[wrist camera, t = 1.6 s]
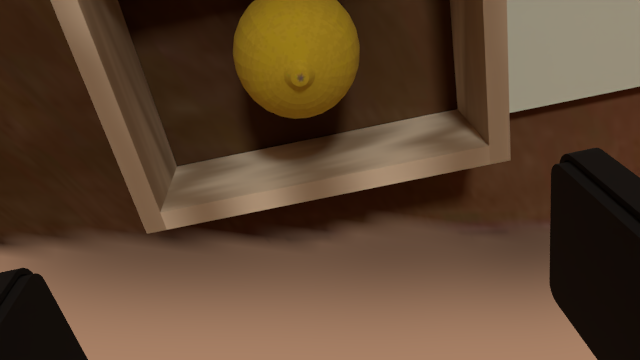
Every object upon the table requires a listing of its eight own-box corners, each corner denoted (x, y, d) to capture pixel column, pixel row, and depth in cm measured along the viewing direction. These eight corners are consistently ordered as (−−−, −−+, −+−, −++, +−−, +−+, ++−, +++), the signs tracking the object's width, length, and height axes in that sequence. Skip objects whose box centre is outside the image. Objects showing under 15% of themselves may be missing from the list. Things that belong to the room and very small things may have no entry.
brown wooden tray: (460, -169, 24) (502, -183, 19) (476, 121, 30) (510, 160, 26) (65, -83, 24) (18, -78, 20) (165, 185, 31) (147, 233, 26)
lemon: (335, 92, 29) (353, 155, 22) (231, 73, 28) (216, 133, 21) (359, -14, 26) (390, 18, 19) (247, -38, 26) (236, -14, 19)
